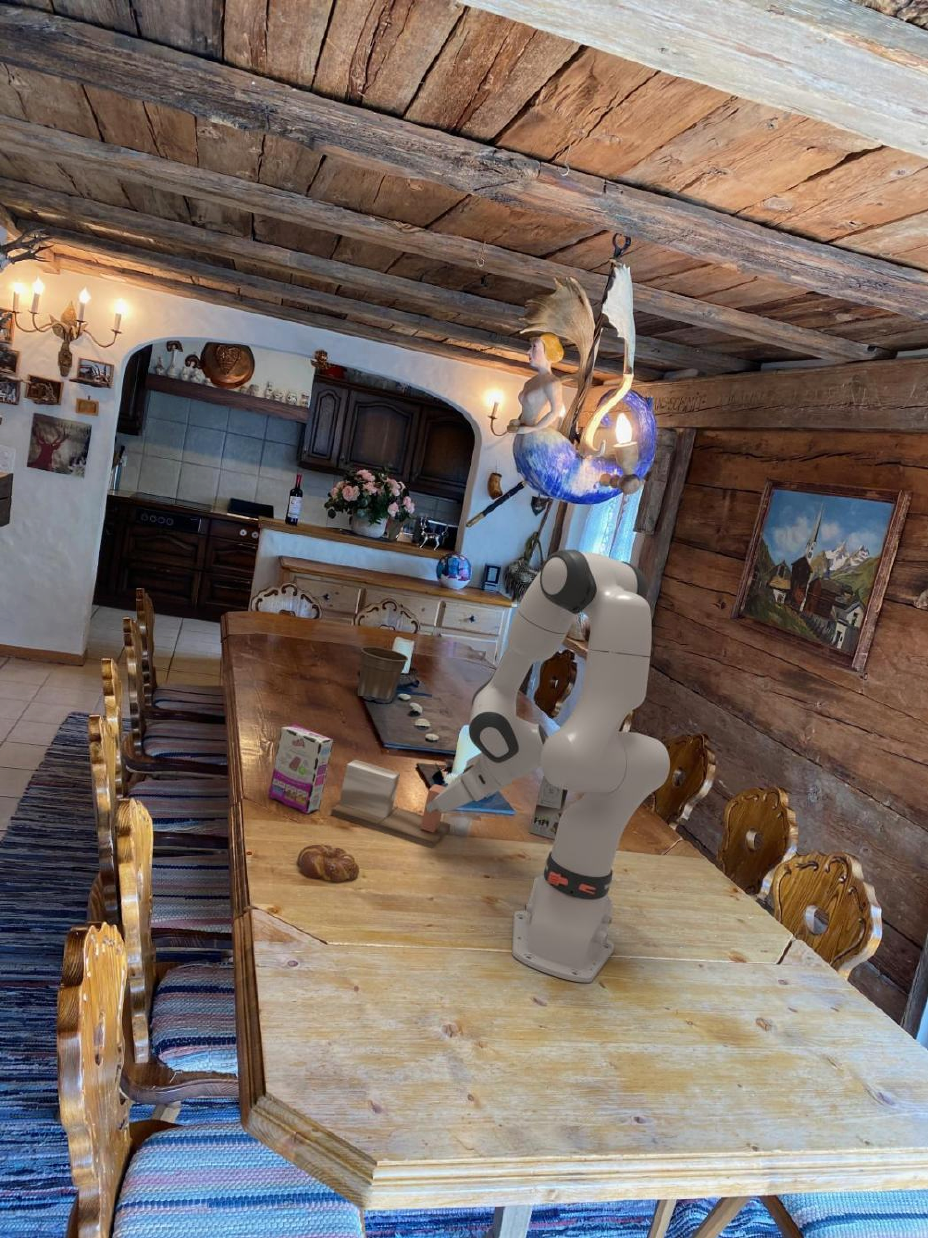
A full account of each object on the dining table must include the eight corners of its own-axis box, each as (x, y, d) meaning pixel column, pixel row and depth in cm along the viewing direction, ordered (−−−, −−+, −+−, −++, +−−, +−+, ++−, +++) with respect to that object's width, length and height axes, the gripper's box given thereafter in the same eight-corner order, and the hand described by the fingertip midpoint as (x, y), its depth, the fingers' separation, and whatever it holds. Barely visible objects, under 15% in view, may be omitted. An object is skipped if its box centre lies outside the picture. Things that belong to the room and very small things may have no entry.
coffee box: (555, 840, 201) (571, 775, 199) (528, 833, 202) (544, 768, 200) (558, 827, 210) (574, 765, 208) (533, 820, 211) (548, 758, 209)
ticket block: (433, 848, 182) (444, 801, 180) (330, 815, 187) (340, 768, 186) (449, 830, 193) (459, 785, 192) (352, 799, 199) (361, 755, 197)
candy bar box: (320, 809, 189) (335, 739, 187) (306, 815, 185) (321, 743, 182) (281, 792, 194) (294, 723, 192) (266, 797, 190) (280, 726, 187)
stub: (433, 832, 185) (441, 793, 184) (420, 828, 186) (428, 789, 185) (439, 826, 190) (447, 788, 188) (426, 822, 190) (434, 784, 189)
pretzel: (367, 870, 166) (371, 852, 166) (344, 892, 156) (348, 873, 155) (312, 851, 169) (315, 833, 169) (285, 871, 159) (289, 852, 158)
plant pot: (408, 703, 294) (417, 658, 292) (379, 708, 280) (389, 661, 278) (371, 689, 302) (380, 645, 300) (341, 693, 288) (351, 647, 286)
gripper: (488, 750, 194) (438, 779, 198) (464, 774, 174) (409, 805, 178) (502, 775, 193) (452, 802, 197) (480, 801, 174) (425, 831, 177)
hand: (432, 804), depth 187 cm, fingers open, 4 cm apart
